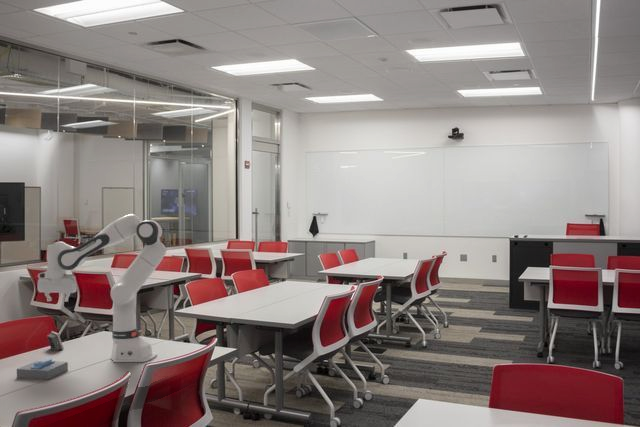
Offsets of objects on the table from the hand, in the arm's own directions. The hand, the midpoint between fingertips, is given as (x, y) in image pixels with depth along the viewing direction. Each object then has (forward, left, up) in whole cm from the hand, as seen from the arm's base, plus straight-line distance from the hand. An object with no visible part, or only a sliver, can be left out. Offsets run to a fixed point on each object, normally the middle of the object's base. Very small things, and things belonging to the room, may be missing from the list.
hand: (57, 301), depth 293 cm
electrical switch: (+14, -16, -29) cm, 36 cm away
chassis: (-9, +24, -29) cm, 39 cm away
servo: (-9, +24, -29) cm, 39 cm away
